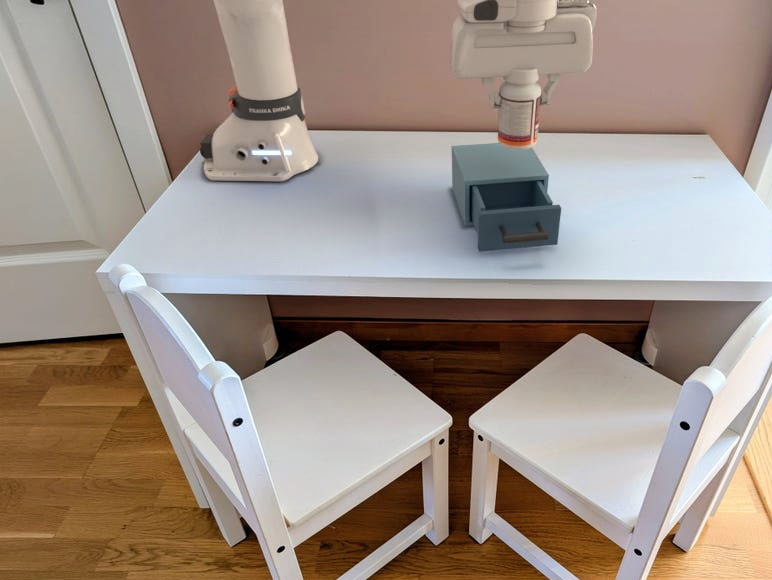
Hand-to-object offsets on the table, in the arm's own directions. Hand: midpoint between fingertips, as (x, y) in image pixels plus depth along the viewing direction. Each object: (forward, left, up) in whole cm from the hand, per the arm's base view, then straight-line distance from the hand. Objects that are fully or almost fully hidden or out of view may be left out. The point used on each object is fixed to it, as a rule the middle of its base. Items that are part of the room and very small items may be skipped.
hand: (518, 105), depth 90 cm
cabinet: (0, +12, -22) cm, 25 cm away
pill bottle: (0, 0, -6) cm, 6 cm away
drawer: (0, -1, -21) cm, 21 cm away
